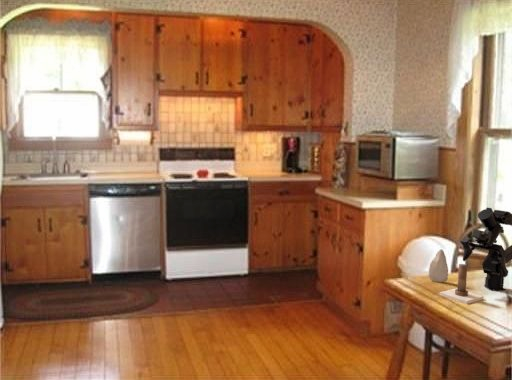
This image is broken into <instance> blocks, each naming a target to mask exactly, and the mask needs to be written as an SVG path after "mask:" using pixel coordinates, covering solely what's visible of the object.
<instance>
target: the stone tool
mask: <svg viewBox="0 0 512 380" xmlns="http://www.w3.org/2000/svg"><path fill="white" fill-rule="evenodd" d="M448 267H449V266H448V262H447V257H446V255H445V251H444V250H443V249H441V248H440V249H439V250H438V251H437V252H436V253H435V256H434V258H433V259H432V260H431V262H430V263H429V268H428V274H427V275H428V276H427V278H429V280H430V281H432V282H438V283H445V282H447V281H448V278H449V277H448V276H449V268H448Z"/></svg>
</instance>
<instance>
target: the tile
mask: <svg viewBox="0 0 512 380" xmlns="http://www.w3.org/2000/svg"><path fill="white" fill-rule="evenodd" d="M456 289H458V287H456V288H451V289H448V290H444V291H439V296H441V297H444V298H447V299H450V300H453V301H457V302H459V303H462V304H465V305H467V304H470V303H475V302H478V301H481V300H482V301H483V300H484V296H483V295H480V294H476V293H473V292H470V291H468V296H458V295H456V294H455V290H456Z"/></svg>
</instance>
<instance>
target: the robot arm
mask: <svg viewBox="0 0 512 380" xmlns="http://www.w3.org/2000/svg"><path fill="white" fill-rule="evenodd" d="M477 217H478V219H479V221H480V223H481V224H482V226H483V228H485V229H484V231H483V230H481V229H480V230H479V229H475V228H473V230H472V233H471V235H470V236H471V238H469V237H462V238H461V239H460V241H459V242H460V244H461V246H462V247H463V255H462V256H463V257H462V261H463V262H465V261H466V260H468V258H469V257H471V255H472V254H473V252H474V250H475V249H480V250H483V251H487V252H488V253H487V255H486V256H485V258H484V259H483V261H482V263H481V265H482V270H483V274H486V276H485V279H484V285H483V286H484V287H485V288H487V289H488V290H490V291H506V289H505V287H504V283H505V281H504V280H505V278H506V277H507V276H508V275H509V270H508V269H507V267H506V266H507V264H508V263H509V262H511V260H512V244H511V245H509V246H508V247H507V248H505V249H504V247H503V245H502V244H497V242H498V240H497V238H498V237H499V235H500V234H505V230H504V226H502V225H505V226H506V225H507V226H510V227H512V213H511V212H510V211H507V210H500V209H494V211H493V209H492V207H486V208H485V209H482V210H481V211H479V212H478V213H477ZM472 238H474V241H475V242H474V241H473V239H472Z"/></svg>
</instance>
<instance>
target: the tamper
mask: <svg viewBox="0 0 512 380" xmlns="http://www.w3.org/2000/svg"><path fill="white" fill-rule="evenodd" d="M467 272H468V265H467V264H465V263H458V272H457V273H458V274H457V275H458V277H457V288H458V289H456V290H455V294H456V295H458V296H468V292H469V291H468V290H467V275H468V273H467Z"/></svg>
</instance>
